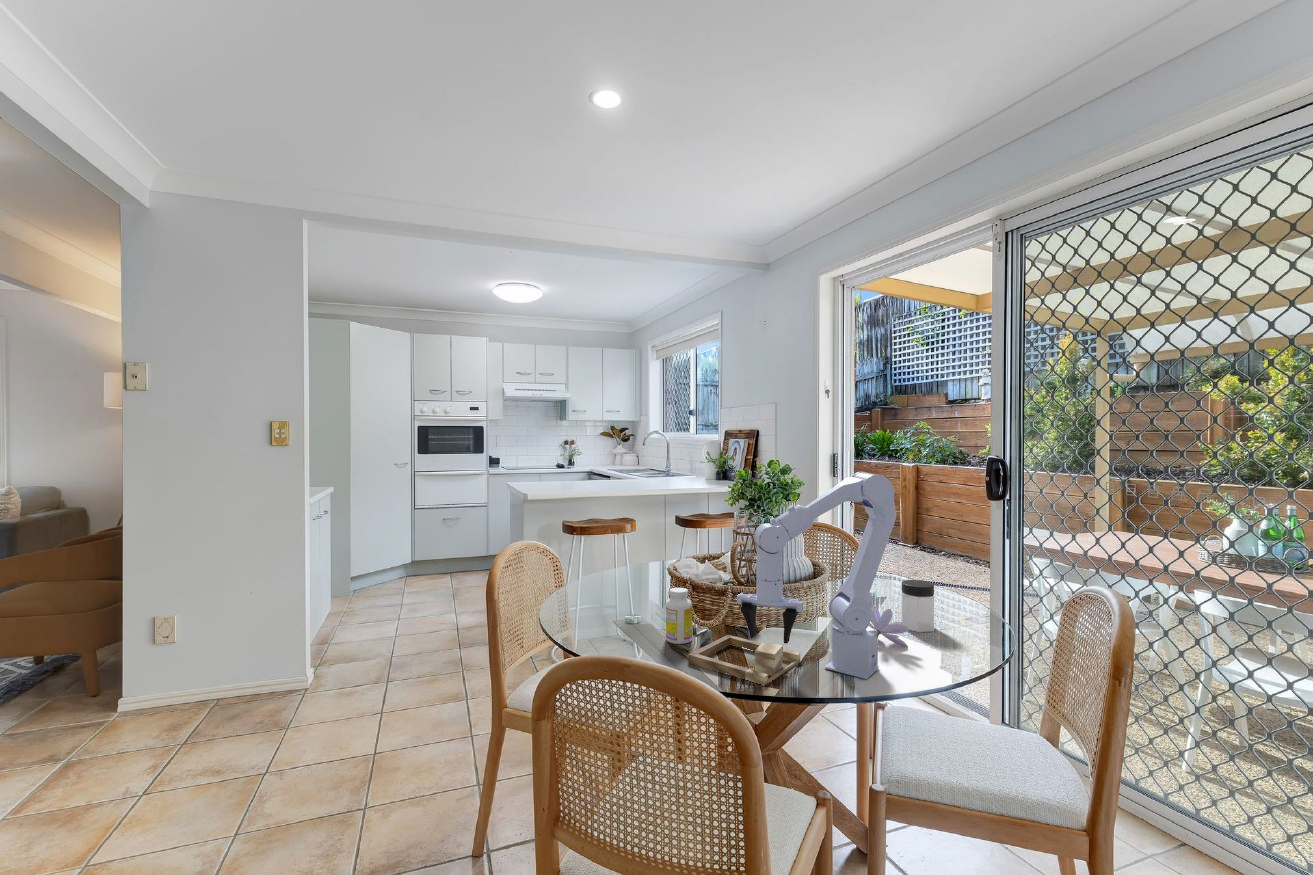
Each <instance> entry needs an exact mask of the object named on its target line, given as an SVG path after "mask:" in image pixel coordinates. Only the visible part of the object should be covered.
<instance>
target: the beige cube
mask: <svg viewBox="0 0 1313 875" xmlns="http://www.w3.org/2000/svg"><path fill="white" fill-rule="evenodd" d="M761 643H762V644H761V645H760V646H759V647H758V648H757V649H756V650H755V652H753V653H754V654H753V656H754V671H758V672H761V673H765V674H768V677H769V676H770V677H772V676H773V675H775V674H776V673H778V672H779V671H781V670H782V669H783V660H782V656H783V649H784V646H783V645H782V644H776V643H771V642H765V641H763V642H761Z"/></svg>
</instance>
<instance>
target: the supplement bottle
mask: <svg viewBox="0 0 1313 875" xmlns="http://www.w3.org/2000/svg"><path fill="white" fill-rule="evenodd" d="M688 595H689V589H688V588H685V587H673V588H670V589H669V596H670V598H668V599H667V600H666V602H665V639H666V641H667V642H668V643H670V644H675V645H684V644H688V643H690V642H692V639H693V603H692V601H691V600H690V599H689V598H688Z"/></svg>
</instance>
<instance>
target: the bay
mask: <svg viewBox="0 0 1313 875" xmlns="http://www.w3.org/2000/svg"><path fill="white" fill-rule="evenodd" d="M762 643H763V642H758V641H754V640H749V639H748V638H747V639H746V638H742V637H739V636H736V635H731V634H726V635H724V636H723V637H720V638H718V639H715V640H714V641H712V643H710V644H708V645H706V646H701V647H700V648H699V649H696V650H694V651H692V652H690V653H688V655H687V660H688V661H687V663H688V664H690V665H693V666H696V667H700V668H703V669H706V670H709V669H712V670H711V671H713V670H715V671H714V672H716V671H719V672H721V673H720V674H722V673H727V674H729V675H734V676H736V677H738V678H737V679H739V678H742V679H745V680H749V681H752V682H756V683H759V684H763V685H765V684H767V683H768V684H770V683H771V682H773V681H774V680H776V679H777V678H779V677H781V675H784V674H785V673H786V672H787V671H789V670H790V669H792V668H794V667H795V666H796V665H798V664H800V663H801V652H797V651H794V650H793V651H792V650H789V649H786V648H783V656H782V661H786V662H789V664H788V665H787V666H785V667H784V668H781V669H780V671H779V672H778V673H776V674H775V675H773V676H770V677H769V675H768V674H765V673H761V672H758V671H755V669H754V670H753V669H750V668H746V667H743V666H739V665H737V664H733V663H731V662H730V663H729V662H726V661H722V660H720V659H716V658H712V657H711V656H713V655H714V653H715V652H717V653H718V651H719V650H720V649H722V648H723V647H725V646H726V645H729V644H732V645H737V646H740V647H744V648H747V649H750V650H753V651H755V650H756V649H757V648H758V647H759V646H760V645H761V644H762ZM722 650H723V649H722ZM719 652H720V651H719ZM712 654H713V655H712ZM715 654H716V653H715ZM719 672H718V673H719ZM729 675H728V676H729ZM742 679H741V680H742ZM745 680H744V681H745ZM772 680H773V681H772ZM749 681H748V682H749ZM752 682H751V683H752ZM769 682H770V683H769ZM768 684H767V685H768Z"/></svg>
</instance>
